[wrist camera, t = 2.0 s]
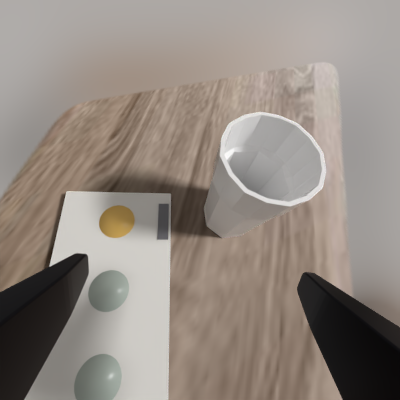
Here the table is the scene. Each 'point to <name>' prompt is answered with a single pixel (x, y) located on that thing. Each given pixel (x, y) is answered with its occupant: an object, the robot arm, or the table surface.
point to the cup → (261, 173)
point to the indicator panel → (113, 300)
